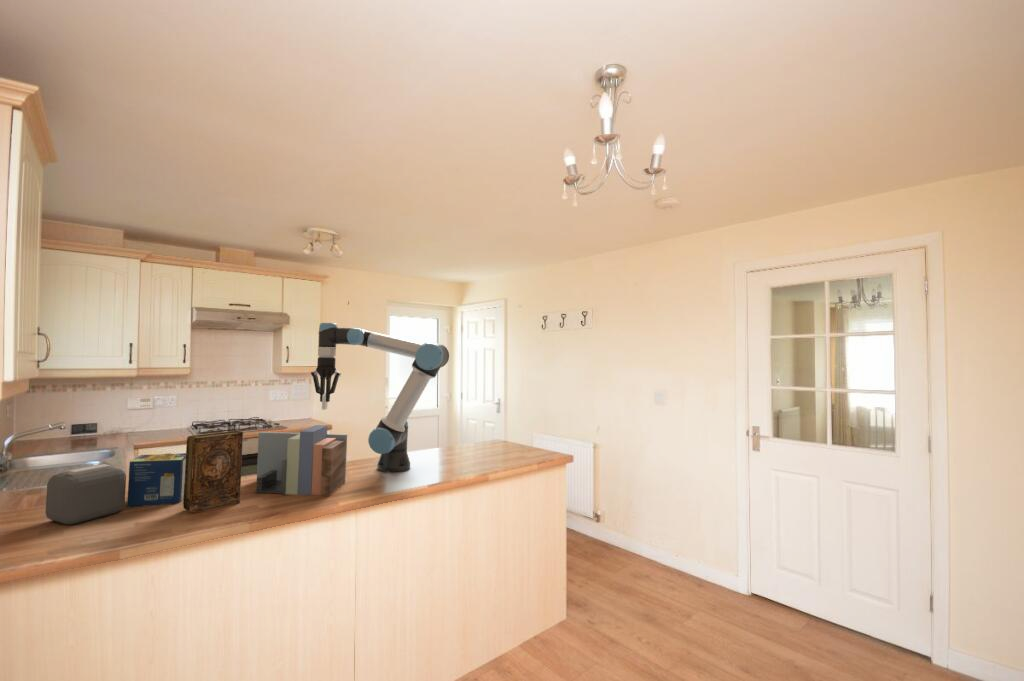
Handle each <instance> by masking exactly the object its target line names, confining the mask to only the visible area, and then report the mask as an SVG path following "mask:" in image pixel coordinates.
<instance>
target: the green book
mask: <svg viewBox="0 0 1024 681" xmlns="http://www.w3.org/2000/svg"><path fill="white" fill-rule="evenodd" d="M299 445H300V434H298V435H296V436H294V437H291V438H289V439H288V446H287V469H286V491H285V494H284V495H295V496H296V495H297V491H298V468H299Z"/></svg>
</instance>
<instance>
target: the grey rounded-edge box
mask: <svg viewBox="0 0 1024 681" xmlns="http://www.w3.org/2000/svg"><path fill="white" fill-rule="evenodd" d="M126 484H127V475H126V472H125V471H124V470H122V469H121V468H115V467H112V466H111V465H110V464H105V463H104V464H98V465H91V466H87V467H81V468H76V469H70V470H68V471H64V472H58V473H56V474H54V475H52V476H51V477H50V478H48V481H47V484H46V497H45V516H46V519H49V520H50V521H53V522H57V523H60V524H64V525H76V524H80V523H83V522H87V521H91V520H94V519H97V518H101V517H105V516H109V515H112V514H116V513H118V512H121V510H122V509H124V506H125V503H126V486H127V485H126Z"/></svg>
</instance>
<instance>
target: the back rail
mask: <svg viewBox="0 0 1024 681" xmlns="http://www.w3.org/2000/svg"><path fill="white" fill-rule="evenodd" d="M298 434H300V432H276V431H275V432H274V431H273V432H272V431H271V432H268V431H261V432H258V443H257V444H258V445H257V464H256V468H257V469H256V479H257V478H258V477H260V476H262V475H264V474H265V473H267V472H269V471H271V470H277V480H281V476H282V459H284V458H286V457H287V446H288V439H289V438H291V437H294V436H296V435H298ZM327 438H336V440H346V450H345V474H344V484H345V483H346V476H347V472H346V471H347V454H348V453H347V452H348V450H347V448H348V434H346V433H345V434H343V433H340V434H339V433H337V434H336V433H327Z"/></svg>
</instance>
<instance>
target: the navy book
mask: <svg viewBox="0 0 1024 681" xmlns="http://www.w3.org/2000/svg"><path fill="white" fill-rule="evenodd" d="M299 433H300V445H299V468H298V491H297V495H299V496H300V495H301V496H302V495H303V496H304V495H306V496H312V494H311V486H312V463H313V445H314V444H316V443H317V442H319V441H321V440H323V439H325V438H327V434H328V425H327V424H325V425H323V424H322V425H321V424H319V425H317V424H316V425H312V426H310V427H307V428H305V429H302V430H300V431H299Z"/></svg>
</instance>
